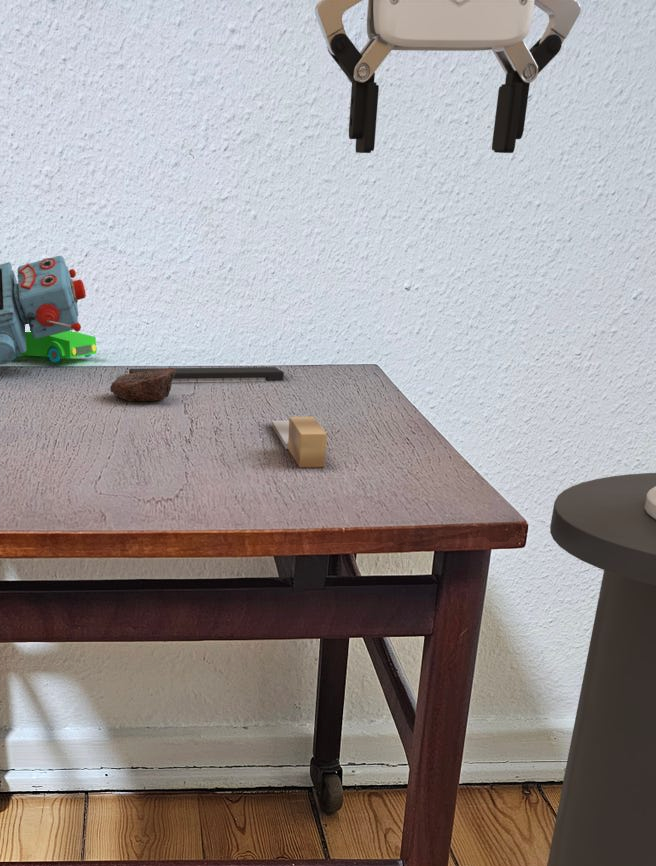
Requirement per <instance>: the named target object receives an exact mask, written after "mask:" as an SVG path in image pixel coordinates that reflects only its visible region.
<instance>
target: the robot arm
mask: <svg viewBox="0 0 656 866" xmlns="http://www.w3.org/2000/svg"><path fill="white" fill-rule="evenodd" d="M362 1H363V0H320V1H318V3H316V5H315V7H314V15H315V17H316V20H317V23H318V26H319V28H320V32H321V34H322V37H323V39H324V40H325V44H326V47H327V52H328V53H329V55H330V56H331V58H332V59H333V60H334V61H335V62H336V64H337V66H338V67H339V68H340V69H341V71H342V72H343V73H344V75H345V76H346V79H347V80H348V82H349V83H351V89H350V105H349V122H348V139H349V140H355V153H357V154H359V153H360V154H371V153H372V152H374V150H375V146H376V145H375V144H376V143H375V142H376V131H377V129H376V128H377V120H378V119H377V118H378V117H377V116H378V104H379V91H380V86H379V84H377V82H375V76H376V71H377V70H378V69H379V67H380V66H381V65H382V64H383V62H384V61H385V60H386V58H387V57H388V55H390V53H391V51H416V52H417V51H422V52H423V51H428V52H430V51H431V52H432V51H433V52H434V51H435V52H436V51H439V52H441V51H442V52H444V51H445V52H451V51H452V52H461V51H463V52H465V51H466V52H471V51H473V52H475V51H476V52H477V51H479V52H480V51H492V53H493V54H494V56H495V58H496V60H497V62H498V63H499V65H500V66H501V68H502V70H503V72H504V74H505V82H504V83H503V84H501V85H500V86H499V87H498V92H497V101H496V108H495V117H494V124H493V134H492V141H491V151H493V152H494V153H499V154H513V153H514V152H515V148H516V141H517V140H521V139H522V138H523V134H524V131H525V125H526V124H525V123H526V115H527V108H528V100H529V94H530V93H529V92H530V85H531V83H533V82H535V80H536V79H537V78H538V75H539V74H540V72H541V71H543V70H544V68H545V67H546V66H547V65H549V63H551V61H552V60H553V59H554V58H555V57H556V56H557V55H558V54H559V53H560V51H561V49H562V47H563V46H562V45H563V43H564V41H565V40H566V39H567V37H568V36H569V34H570V32H571V30H572V29H573V26H574V25H575V23H576V21H577V20H578V19H579V16H580V14H581V9H582V6H581V4H580V2H579V1H578V0H367V8H366V9H367V10H366V12H367V13H366V33H367V34H366V35H367V38H368V41H367V42H366V44H365V45H364V46H363V48H362V49H361V50H360V51H359V50H358V49H357V47H356V45H354V43H353V42H352V40H351V39H350V38H349V37H348V35H347V33H346V30H345V26H344V23H343V15H344V13H345V12H347V11H348V10H349V9H351V8H352V7H354V6H356V5H357V4H359V3H361V2H362ZM535 6H536V7H537V8H538V9H540V10H541V11H543V12H544V13H545V14H546V15H547V17H548V23H547V26H546V27H545V31H544V33H543V34H542V36H541V37H540V38H539V39H538V40H537V41H536V42H535V43H534V44H533V45H532V46H531V48H530V49H529V48H528V46H527V44H526V42H525V41H524V39H526V38H527V36H528V35H529V32H530V30H531V26H532V22H533V17H534V8H535ZM645 510H646V512H647V513H648V514H649V515H650V516H651V517H652V518H654V519H655V520H656V486H655V487H654V488H652V489H650V490H649V492H648V493H647V496H646V502H645Z"/></svg>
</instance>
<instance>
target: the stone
mask: <svg viewBox="0 0 656 866" xmlns="http://www.w3.org/2000/svg"><path fill="white" fill-rule="evenodd" d="M175 368H176V367H167V368H166V369H158V370H153V371H146V372H136V373H131V374H129V373H126V374H125V375H121V376H120V377H117V378H116V379H115V380H114V381H113V382H111V385H110V387H109V388H110V389H109V391H110V393H112V394H113V395H114V396H115V397H117V398H120V399H123V400H125V401H127V402H128V401H129V402H146V401H148V402H151V401H152V402H153V401H163V400H165V399H166V398H168V397H169V395H170V392H171V390H172V385H173V383H172V380H173V378H174V375H175V373H176V369H175Z"/></svg>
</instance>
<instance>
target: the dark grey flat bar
mask: <svg viewBox="0 0 656 866" xmlns="http://www.w3.org/2000/svg"><path fill="white" fill-rule="evenodd" d="M174 368H175V369H176V373H175V375H174V378H173V380H172V384H174V383H236V382H237V383H238V382H240V383H241V382H283V381H284V379H285V378H284V375H285V374H284V373H285V372H284V371H283V370H281V369H279V368H278V367H276V366H251V367H250V366H249V367H248V366H247V367H245V366H244V367H241V366H238V367H237V366H236V367H234V366H233V367H174ZM158 369H166V368H165V367H163V368H161V367H160V368H159V367H157V368H155V367H153V368H129V369H128V374H131V373H136V372H146V371H153V370H158Z"/></svg>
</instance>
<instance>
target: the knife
mask: <svg viewBox="0 0 656 866" xmlns="http://www.w3.org/2000/svg"><path fill="white" fill-rule="evenodd" d="M288 419H289V420H287V419H286V420H285V419H283V420H271V427H272V429H273V430H274V432H275V434H276V436H277V438H278V439H279V441H280V442H281V444H282V446H283V447H284V449H285V450H288V452H289V453H290V455H291V457H292V458H293V460H294V461H295V463H296V465H297V466H298V468H300V469H306V468H307V469H308V468H313V469H314V468H316V469H317V468H319V469H320V468H325V467H326V451H327V437H328V433H327V432H326V431H325V429H324V428H323V427H322V426H321V424H320V423H319V422H318V421H317V419H316V418H315V417H314V416H289V418H288Z"/></svg>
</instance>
